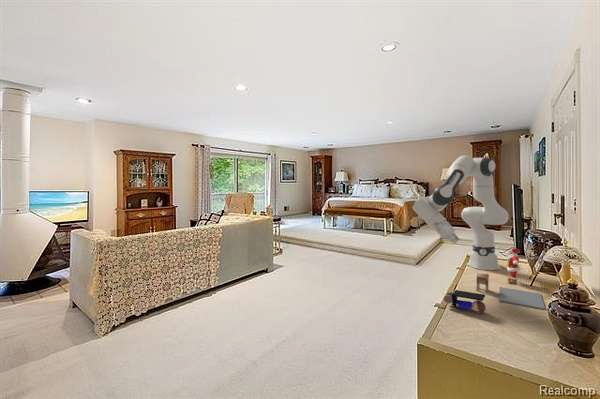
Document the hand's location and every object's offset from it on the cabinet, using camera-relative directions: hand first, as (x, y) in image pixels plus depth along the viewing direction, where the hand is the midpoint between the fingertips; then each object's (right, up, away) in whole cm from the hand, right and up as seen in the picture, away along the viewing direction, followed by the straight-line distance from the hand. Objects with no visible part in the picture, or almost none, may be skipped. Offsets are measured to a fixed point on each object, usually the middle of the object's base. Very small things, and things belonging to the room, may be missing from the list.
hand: (457, 241), depth 148 cm
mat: (+21, -24, -16) cm, 36 cm away
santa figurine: (+33, -23, +5) cm, 41 cm away
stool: (+10, -24, -6) cm, 26 cm away
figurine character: (-11, -26, -26) cm, 38 cm away
